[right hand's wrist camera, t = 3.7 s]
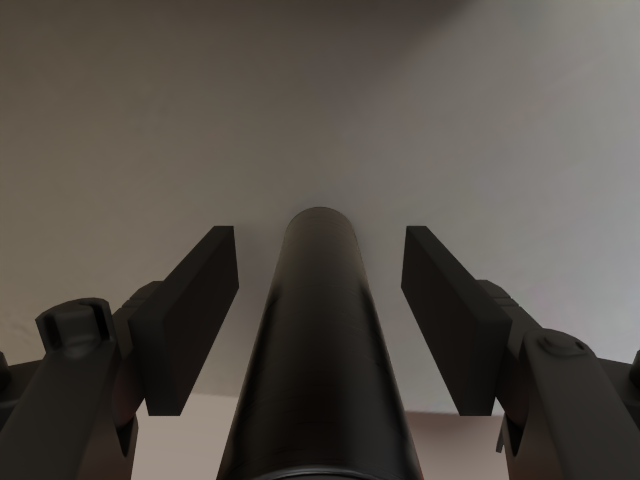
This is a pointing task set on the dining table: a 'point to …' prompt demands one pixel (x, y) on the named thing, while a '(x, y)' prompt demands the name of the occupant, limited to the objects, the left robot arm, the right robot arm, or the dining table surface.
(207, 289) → the right robot arm
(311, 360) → the peg
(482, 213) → the dining table surface
